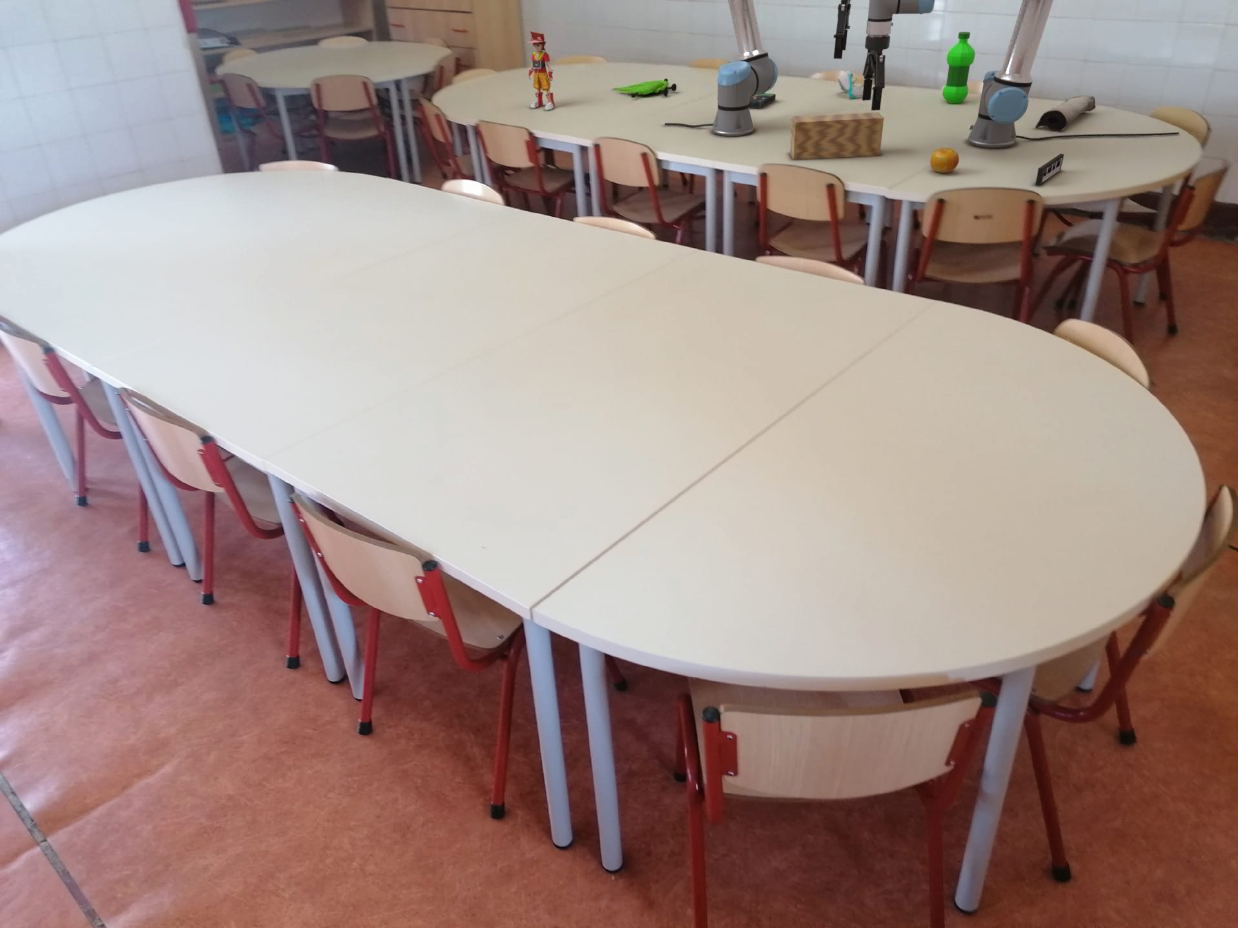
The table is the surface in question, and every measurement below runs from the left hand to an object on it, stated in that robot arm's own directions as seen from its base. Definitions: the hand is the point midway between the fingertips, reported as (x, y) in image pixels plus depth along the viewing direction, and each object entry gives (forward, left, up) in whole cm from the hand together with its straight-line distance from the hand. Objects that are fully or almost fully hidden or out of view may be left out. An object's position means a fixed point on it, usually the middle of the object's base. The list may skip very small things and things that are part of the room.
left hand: (839, 54), depth 308 cm
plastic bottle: (+27, +63, -28) cm, 74 cm away
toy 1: (-130, +3, -28) cm, 133 cm away
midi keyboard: (+76, -22, -28) cm, 84 cm away
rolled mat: (+71, +47, -28) cm, 89 cm away
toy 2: (-103, +40, -28) cm, 114 cm away
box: (+8, -20, -28) cm, 35 cm away
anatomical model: (-14, +62, -28) cm, 70 cm away
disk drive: (-45, +36, -28) cm, 64 cm away
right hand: (+17, -15, -12) cm, 26 cm away
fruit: (+46, -27, -28) cm, 60 cm away
